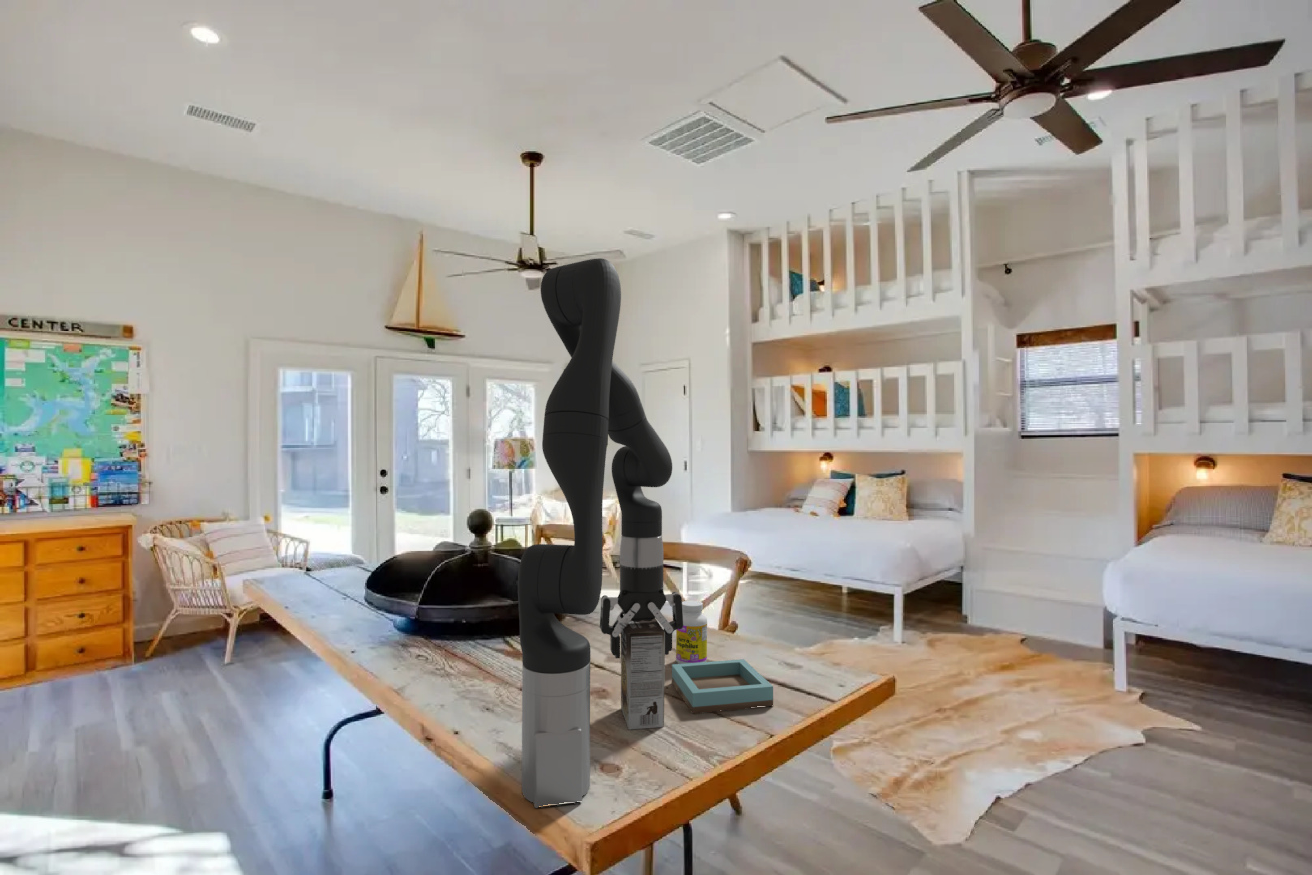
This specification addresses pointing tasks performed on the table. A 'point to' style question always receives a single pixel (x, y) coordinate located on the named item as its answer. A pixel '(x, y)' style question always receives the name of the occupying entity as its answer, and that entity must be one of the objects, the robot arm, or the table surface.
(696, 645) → the supplement bottle
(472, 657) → the table surface
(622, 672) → the coffee box
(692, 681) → the teal square tray
